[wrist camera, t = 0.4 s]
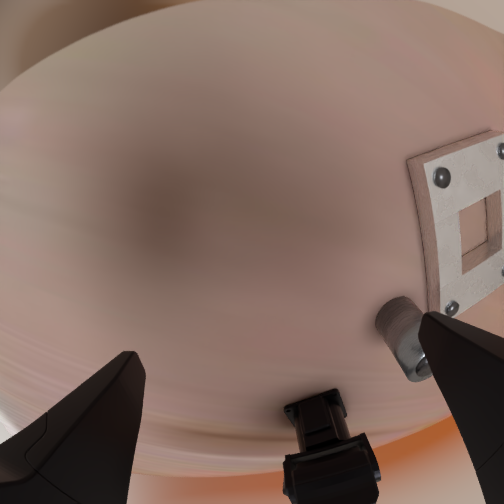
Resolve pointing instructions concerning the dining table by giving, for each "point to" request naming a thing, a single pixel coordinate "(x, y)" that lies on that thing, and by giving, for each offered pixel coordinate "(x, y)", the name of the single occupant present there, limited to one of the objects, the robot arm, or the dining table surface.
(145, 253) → the dining table surface
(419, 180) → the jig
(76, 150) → the dining table surface
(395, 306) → the cylinder
